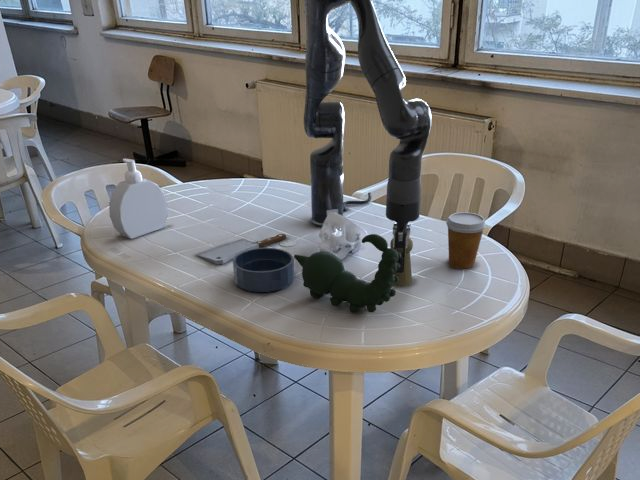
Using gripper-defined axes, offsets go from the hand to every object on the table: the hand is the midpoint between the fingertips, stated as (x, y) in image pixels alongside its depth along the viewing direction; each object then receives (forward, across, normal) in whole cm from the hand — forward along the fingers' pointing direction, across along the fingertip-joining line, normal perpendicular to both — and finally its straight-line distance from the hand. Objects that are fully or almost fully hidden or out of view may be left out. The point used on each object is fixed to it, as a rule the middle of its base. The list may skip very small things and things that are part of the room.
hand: (399, 264), depth 145 cm
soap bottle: (+4, -23, -74) cm, 78 cm away
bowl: (+4, +4, -32) cm, 32 cm away
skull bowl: (+4, -15, -16) cm, 22 cm away
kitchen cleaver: (+4, -15, -42) cm, 45 cm away
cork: (+5, 0, 0) cm, 5 cm away
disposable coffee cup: (+4, -12, +15) cm, 20 cm away
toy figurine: (+5, +13, -12) cm, 18 cm away
